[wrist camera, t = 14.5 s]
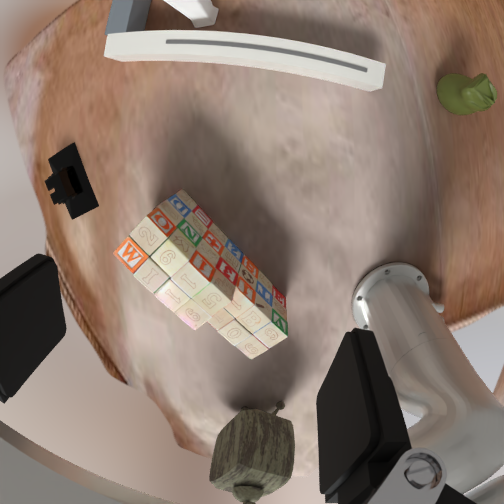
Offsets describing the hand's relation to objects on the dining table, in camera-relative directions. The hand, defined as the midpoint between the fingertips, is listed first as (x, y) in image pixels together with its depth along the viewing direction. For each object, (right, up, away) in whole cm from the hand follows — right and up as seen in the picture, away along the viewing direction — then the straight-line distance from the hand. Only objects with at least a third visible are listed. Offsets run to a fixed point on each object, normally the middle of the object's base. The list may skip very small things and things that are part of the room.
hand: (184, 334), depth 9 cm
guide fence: (+1, +30, +21) cm, 37 cm away
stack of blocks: (-2, +2, +35) cm, 35 cm away
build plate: (-25, +13, +32) cm, 42 cm away
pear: (+28, +23, +22) cm, 43 cm away
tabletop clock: (+2, -29, +47) cm, 55 cm away
